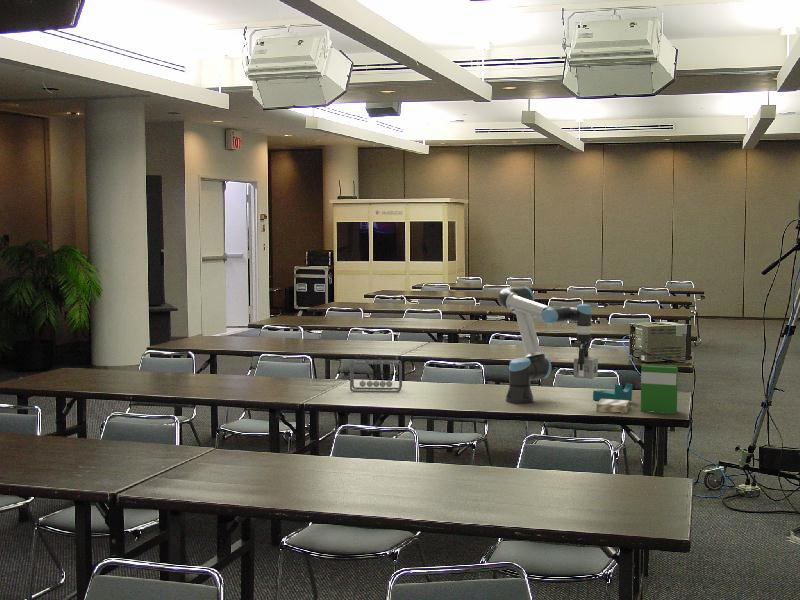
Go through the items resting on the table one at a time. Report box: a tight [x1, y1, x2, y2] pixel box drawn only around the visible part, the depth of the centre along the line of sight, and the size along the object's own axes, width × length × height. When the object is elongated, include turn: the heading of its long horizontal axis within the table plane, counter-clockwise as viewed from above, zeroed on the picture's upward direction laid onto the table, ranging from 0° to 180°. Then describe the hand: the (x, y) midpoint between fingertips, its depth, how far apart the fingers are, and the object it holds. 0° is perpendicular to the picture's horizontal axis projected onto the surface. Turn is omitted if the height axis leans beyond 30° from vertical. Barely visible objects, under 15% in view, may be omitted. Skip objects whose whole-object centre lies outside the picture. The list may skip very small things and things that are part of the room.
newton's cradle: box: [349, 359, 403, 393], centre depth 550 cm, size 30×10×18 cm, turn 86°
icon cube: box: [573, 356, 599, 380], centre depth 497 cm, size 10×10×10 cm
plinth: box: [595, 399, 631, 414], centre depth 493 cm, size 15×15×4 cm
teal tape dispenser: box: [592, 383, 633, 402], centre depth 516 cm, size 18×11×10 cm, turn 40°
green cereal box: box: [640, 363, 679, 414], centre depth 488 cm, size 18×7×24 cm, turn 68°
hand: (583, 374), depth 497 cm, fingers closed on icon cube, 10 cm apart
